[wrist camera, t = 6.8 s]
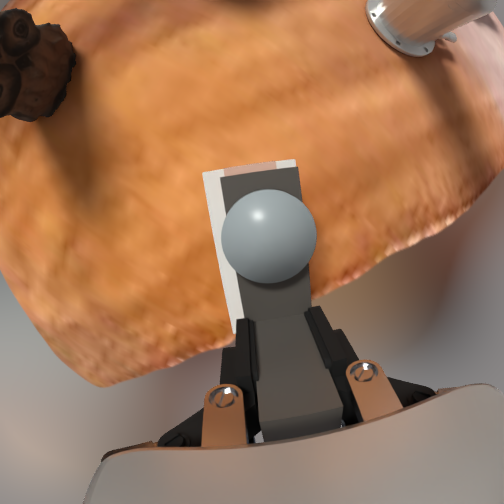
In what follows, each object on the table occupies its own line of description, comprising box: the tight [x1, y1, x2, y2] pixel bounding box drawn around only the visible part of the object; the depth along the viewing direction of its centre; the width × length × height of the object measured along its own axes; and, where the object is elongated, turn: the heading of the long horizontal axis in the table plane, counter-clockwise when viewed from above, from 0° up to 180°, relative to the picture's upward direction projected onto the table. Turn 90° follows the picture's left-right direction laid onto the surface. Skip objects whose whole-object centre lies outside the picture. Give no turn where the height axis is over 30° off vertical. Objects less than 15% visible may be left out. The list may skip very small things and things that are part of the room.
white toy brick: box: [202, 159, 296, 334], centre depth 28 cm, size 8×16×12 cm, turn 8°
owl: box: [0, 8, 76, 122], centre depth 17 cm, size 13×13×20 cm
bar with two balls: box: [220, 167, 343, 442], centre depth 11 cm, size 4×15×9 cm, turn 9°
